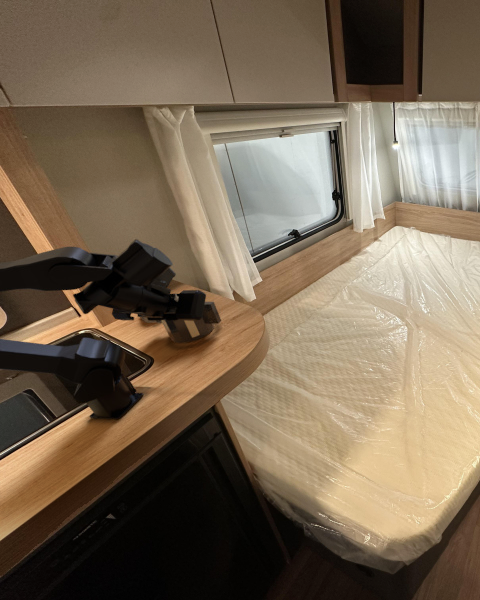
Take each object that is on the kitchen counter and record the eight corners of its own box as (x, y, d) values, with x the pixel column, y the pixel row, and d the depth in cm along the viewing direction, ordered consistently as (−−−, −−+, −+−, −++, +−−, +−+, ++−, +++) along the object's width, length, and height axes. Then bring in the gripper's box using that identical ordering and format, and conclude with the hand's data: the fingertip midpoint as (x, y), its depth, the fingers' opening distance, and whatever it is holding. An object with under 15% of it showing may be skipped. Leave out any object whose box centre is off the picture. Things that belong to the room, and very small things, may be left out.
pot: (212, 343, 81) (199, 314, 76) (149, 342, 83) (132, 314, 78) (234, 320, 90) (223, 292, 86) (176, 320, 92) (163, 293, 87)
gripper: (182, 256, 61) (230, 281, 76) (95, 257, 63) (159, 281, 78) (170, 312, 58) (223, 326, 73) (79, 312, 60) (149, 326, 75)
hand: (188, 313), depth 75 cm, fingers closed
